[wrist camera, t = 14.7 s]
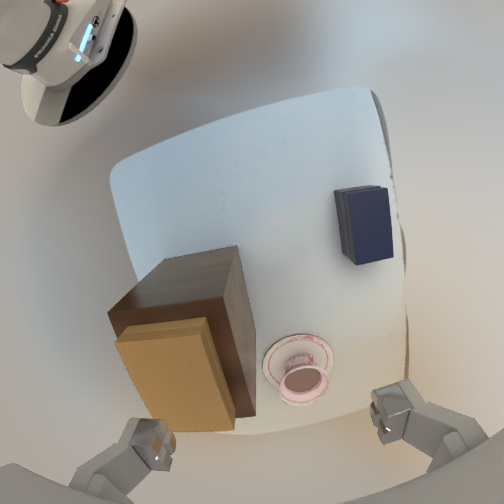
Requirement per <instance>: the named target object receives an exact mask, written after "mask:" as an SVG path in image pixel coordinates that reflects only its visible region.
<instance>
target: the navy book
mask: <svg viewBox="0 0 504 504" xmlns="http://www.w3.org/2000/svg"><path fill="white" fill-rule="evenodd" d="M343 198H344V204H345V212H346V219H347V227H348V235H349V244H350V254H351V261H352V262H353V263H354V264H355V265H360V264H365V263H370V262H374V261H379V260H383V259H388V258H392V257H393V240H392V226H391V216H390V206H389V197H388V189H387V188H381V187H380V188H373V189H366V190H359V191H352V192H346V193H343Z"/></svg>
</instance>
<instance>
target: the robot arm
mask: <svg viewBox="0 0 504 504" xmlns="http://www.w3.org/2000/svg"><path fill="white" fill-rule="evenodd" d="M126 1H127V0H44V1H41V0H0V63H2V64H3V66H4V67H6V68H8V69H11V70H12V71H15V72H18V73H21V74H25V75H31V76H33V77H34V78H36V79H37V80H39V81H40V82H41V83H42V84H44V86H45V87H46V88H47V89H49V90H51V91H61V90H64V89H67V88H69V87H70V86H72V85H73V84H75V83H76V82H77V81H79V80H80V79H81V78H82V77H83V76H84V75H85V74H86V73H87V72H88V71H89V70H90V69H92V68H94V67H95V66H97V65H99V64H101V63H102V62H103V61H104V60H105V59H106V57H107V54H108V51H109V48H110V45H111V41H112V38H113V35H114V33H115V30H116V27H117V24H118V22H119V19H120V16H121V14H122V11H123V9H124V6H125V4H126ZM102 50H103V51H102ZM101 51H102V52H101ZM371 398H372V400H373V402H372V403H371V404H370V414H371V419H372V422H373V424H374V426H376V427H378V432H377V434H378V436H379V438H380V441H381V443H382V445H384V444H387V443H390V442H393V441H396V440H399V439H402V438H403V440H404V441H406V442H407V443H409V444H411V445H412V446H414V447H416V448H417V449H419V450H420V451H422V452H424V453H425V454H427V455H429V456H431V457H432V458H433V460H432V462H431V464H430V466H429V467H428V469H427V473H426V474H424V475H422V476H420V477H417V478H415V479H412V480H410V481H408V482H405V483H403V484H400V485H397V486H395V487H392V488H389V489H386V490H384V491H381V492H377V493H374V494H371V495H368V496H365V497H361V498H358V499H354V500H350V501H346V502H342V503H338V504H504V428H503V429H502V430H501V431H499V432H498V433H496V434H495V435H493V436H492V437H490V438H488V436H487V435H486V433H485V432H484V431H483V429H482V428H481V426H480V425H479V424H478V422H477V421H476V420H475V419H474V418H471V417H468V416H466V415H463V414H460V413H457V412H454V411H451V410H449V409H446V408H443V407H441V406H438V405H435V404H433V403H430V402H428V403H425V401H424V400H423V399H422V397H421V396H420V394H419V393H418V391H417V390H416V388H415V387H414V385H413V384H412V383H411V381H410V380H409V379H408V378H407V379H404V380H401V381H399V382H396V383H393V384H390V385H387V386H384V387H381V388H378V389H374V390H372V393H371ZM167 427H168V424H167V422H166V421H165V420H162V419H145V418H131V419H129V421H128V423H127V425H126V427H125V429H124V431H123V433H122V436H121V438H120V440H119V442H118V444H113V445H112V446H110V447H109V448H107V449H106V450H104V451H103V452H101V453H100V454H98V455H97V456H95V457H94V458H92V459H91V460H89V461H88V462H86V463H84V464H83V465H81V466H80V467H78V469H77V471H76V472H75V475H74V477H73V478H72V480H71V482H70V484H69V486H68V487H66V486H64V485H61V484H59V483H56V482H54V481H52V480H49V479H47V478H45V477H43V476H40V475H38V474H36V473H34V472H32V471H30V470H28V469H26V468H24V467H22V466H20V465H18V464H15V463H11V464H8V465H5V466H3V467H0V504H134V503H133V502H132V501H131V500H130V499H129V498H128V497H126V495H127V494H128V493H129V492H130V491H131V490H133V489H134V488H135V487H136V486H137V485H138V484H139V483H140V482H141V481H142V480H143V479H144V478H145V477H146V476H147V475H148V474H149V473H150V472H151V470H156V471H170V467H171V464H172V460H173V459H172V458H171V456H170V455H171V454H173V453H174V452H175V448H176V439H175V436H174V434H173V432H172V431H170V430H169V429H167Z"/></svg>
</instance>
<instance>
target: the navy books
mask: <svg viewBox="0 0 504 504" xmlns="http://www.w3.org/2000/svg"><path fill="white" fill-rule="evenodd" d="M373 188H380V186H370V185H369V186H362V187H355V188H348V189H341V190H335V191H334V194H335V201H336V207H337V214H338V221H339V229H340V237H341V245H342V253H343V254H345V255H346V256H347V257H348V258H349V259H350V260H351V254H350V244H349V235H348V227H347V219H346V212H345V204H344V198H343V193H346V192H352V191H359V190H366V189H373Z"/></svg>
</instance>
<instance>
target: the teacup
mask: <svg viewBox="0 0 504 504" xmlns="http://www.w3.org/2000/svg"><path fill="white" fill-rule="evenodd" d="M333 361H334V357H333V352H332V349H331V348H330V347H329V345H328V344H327V342H325V341H324V340H322V339H320V338H319V337H316V336H312V335H308V334H304V335H293V336H290V337H286V338H283V339H282V340H280V341H278V342H277V343H275V344H274V345H273V346H272V347H271V348H270V349H269V350H268V351H267V353H266V355H265V357H264V359H263V372H264V375H265V377H266V379H267V380H268V381H269V382H270V383H271V384H272V385H274V386H276V387H278V388H279V394H280V396H281V398H282V399H283V400H284V401H285V402H286V403H288V404H290V405H294V406H304V405H308V404H311V403H314V402H315V401H317V400H318V399H320V398H321V397H322V396H323V395H324V394H325V393H326V391H327V389H328V387H329V383H330V380H329V376H328V374H329V372H330V371H331V369H332V366H333Z"/></svg>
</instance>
